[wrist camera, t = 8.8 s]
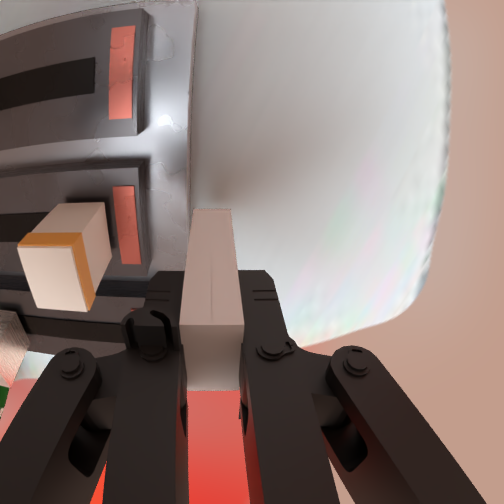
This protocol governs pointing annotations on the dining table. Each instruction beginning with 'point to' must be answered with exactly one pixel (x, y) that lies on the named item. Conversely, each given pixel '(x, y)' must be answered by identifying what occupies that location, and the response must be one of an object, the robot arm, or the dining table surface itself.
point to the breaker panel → (95, 160)
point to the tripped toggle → (67, 256)
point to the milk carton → (3, 398)
